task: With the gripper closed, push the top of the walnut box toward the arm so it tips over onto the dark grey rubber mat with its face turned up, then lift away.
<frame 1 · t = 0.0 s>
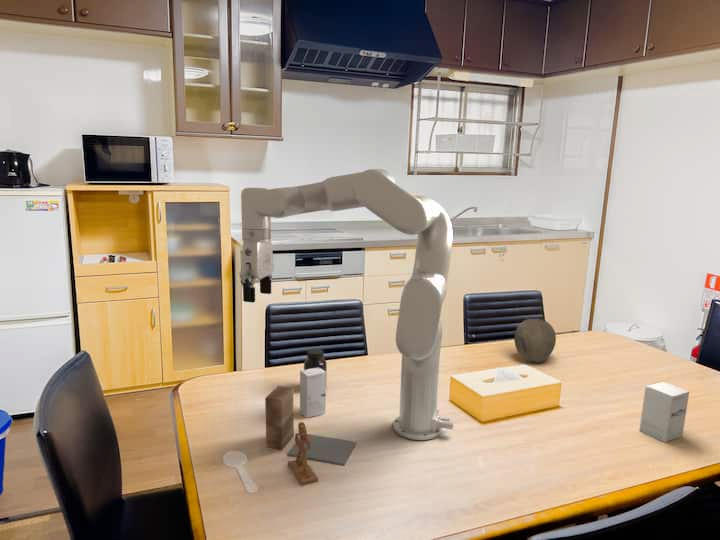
hand: (257, 297, 142), 31 cm above the table, fingers open, 9 cm apart
skincare box: (312, 413, 144), on the table
rubber mat: (322, 449, 125), on the table
cantaloupe: (532, 360, 186), on the table
wooden figurine: (302, 474, 116), on the table
supplement bottle: (315, 389, 159), on the table
supplement box: (660, 434, 136), on the table
spoon: (241, 472, 116), on the table
walnut box: (280, 442, 128), on the table
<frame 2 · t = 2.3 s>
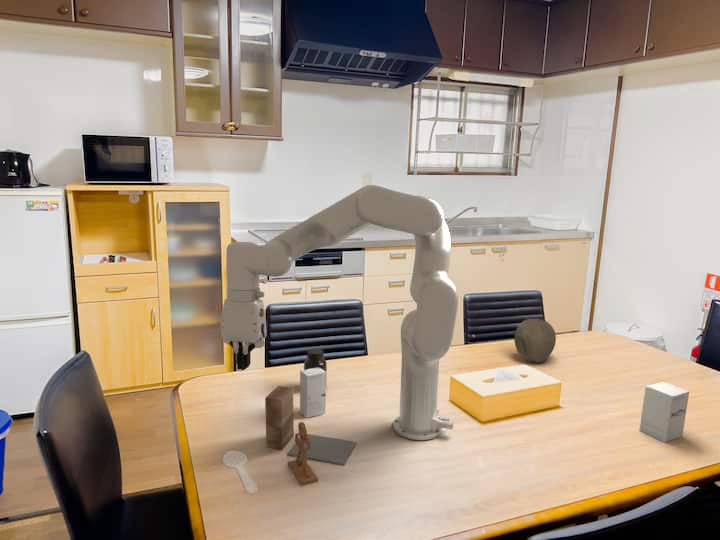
hand: (243, 367, 127), 18 cm above the table, fingers closed
nothing on the table moved.
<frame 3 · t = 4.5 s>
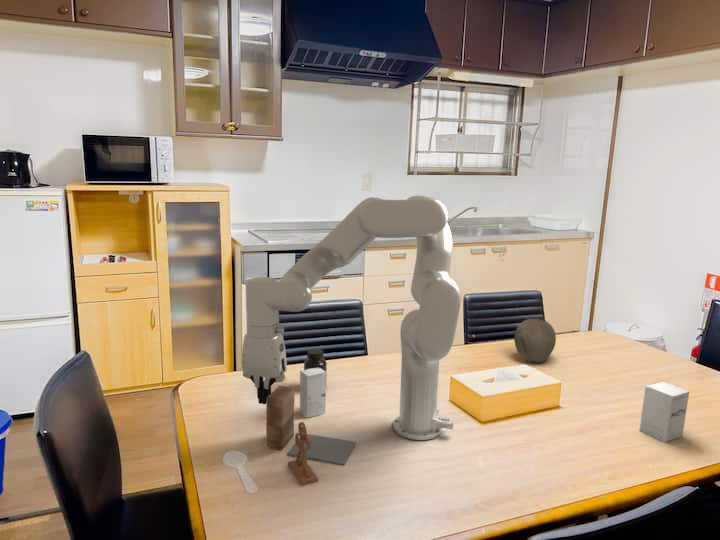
hand: (264, 401, 127), 10 cm above the table, fingers closed
walnut box: (280, 441, 128), on the table, touching gripper
everything else where it was.
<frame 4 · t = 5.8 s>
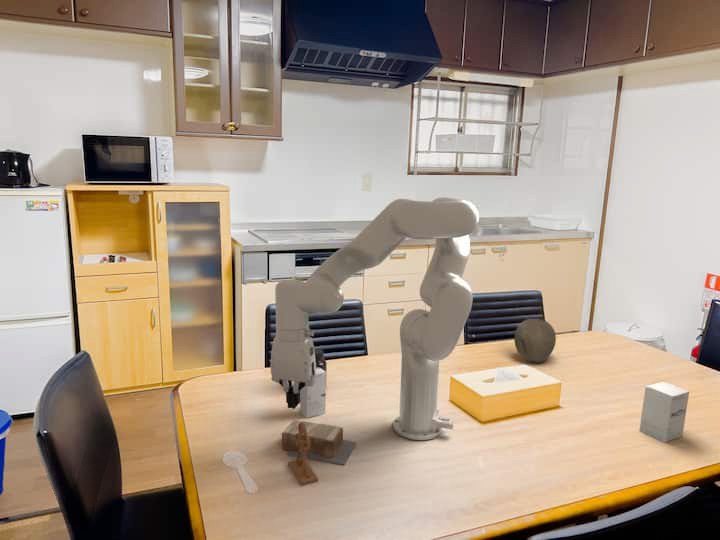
hand: (293, 406, 126), 10 cm above the table, fingers closed
walnut box: (287, 434, 127), point 2 cm above the table, tilted 90°, touching rubber mat
everything else where it was.
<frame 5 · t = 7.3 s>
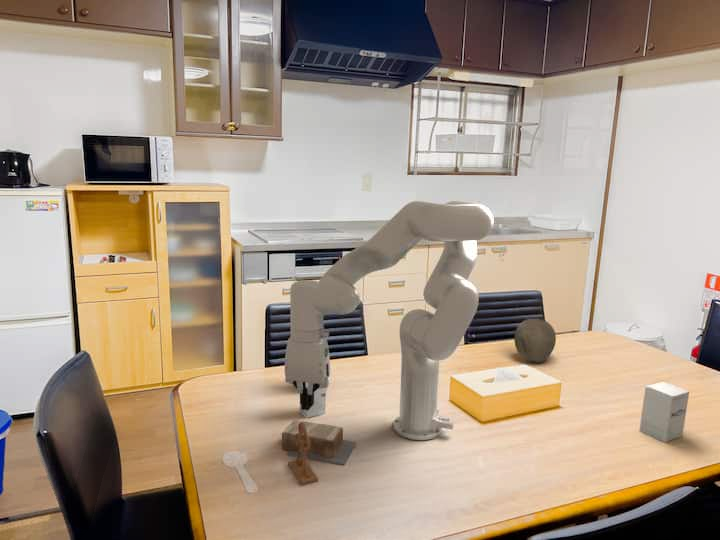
hand: (307, 407, 124), 10 cm above the table, fingers closed
nothing on the table moved.
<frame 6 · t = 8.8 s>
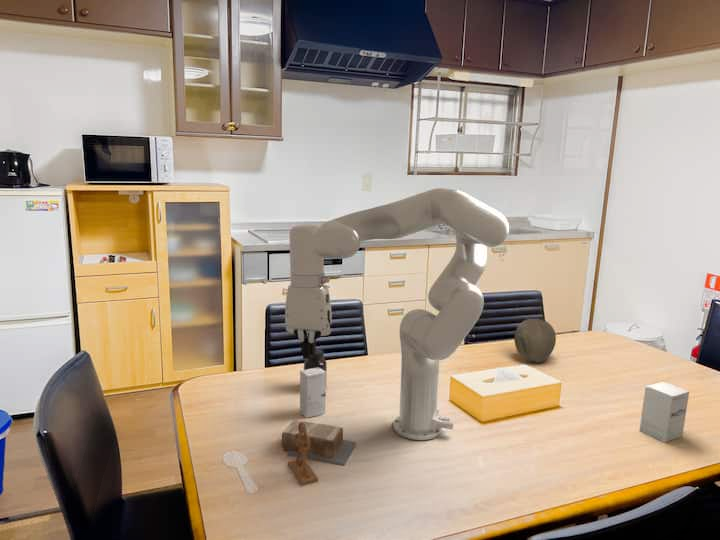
hand: (308, 356, 122), 23 cm above the table, fingers closed
nothing on the table moved.
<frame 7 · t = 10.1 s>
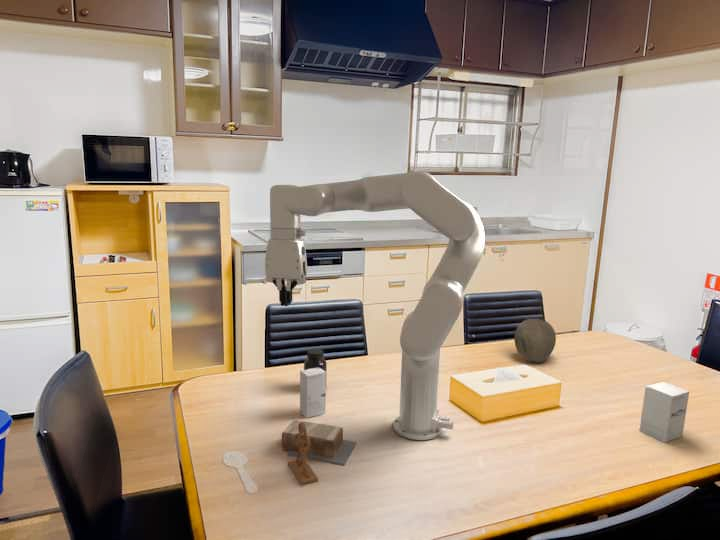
hand: (285, 304, 135), 31 cm above the table, fingers closed
nothing on the table moved.
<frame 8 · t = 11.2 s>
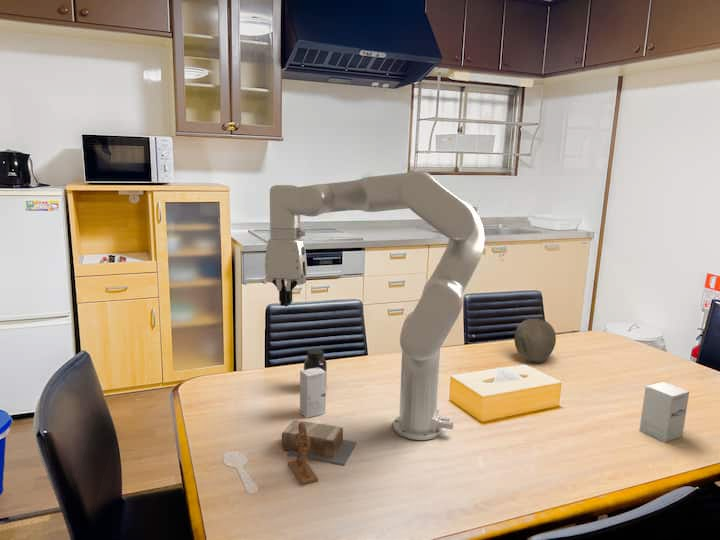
hand: (285, 304, 136), 31 cm above the table, fingers closed
nothing on the table moved.
at the end: walnut box tilted 90°; walnut box inside the target area (0.0 cm from its centre), point 2.4 cm above the table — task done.
